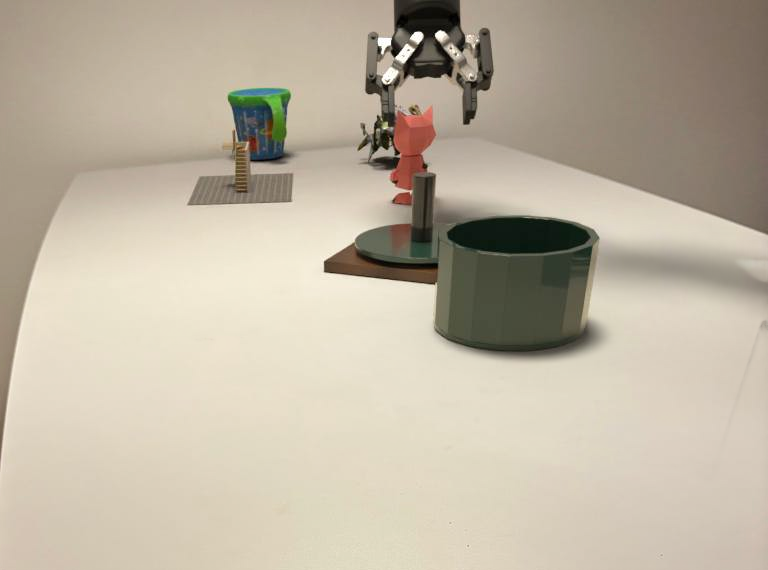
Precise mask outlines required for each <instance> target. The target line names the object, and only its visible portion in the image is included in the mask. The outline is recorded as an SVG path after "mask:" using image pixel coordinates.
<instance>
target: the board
mask: <svg viewBox="0 0 768 570" xmlns="http://www.w3.org/2000/svg"><path fill="white" fill-rule="evenodd" d="M436 266H437V263H436V264H405V263H396V262H389V261H383V260H379V259H374V258H371V257H368V256H365V255H363V254H361V253H359V252H358V251H357V250H356V248H355V241H354V242H353V243H350V244H349V245H347V246H346V247H344V248H343V249H341V250H339V251H337V252H336V253H335V254H333V255H331V256H330V257H328V258H326V259H325V260H324V261H323V272H326V273H335V274H343V275H353V276H360V277H361V276H362V277H371V278H378V279H388V280H398V281H406V282H416V283H425V284H432V285H435V283H436Z"/></svg>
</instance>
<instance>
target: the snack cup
mask: <svg viewBox="0 0 768 570" xmlns="http://www.w3.org/2000/svg"><path fill="white" fill-rule="evenodd" d="M291 98H292V93H291V91H290V89H288V88H283V87H253V88H252V87H251V88H244V89H237V90H233V91H229V93H228V94H227V101H228V103H229V106H230V107H231V110H232V115H233V122H234V128H235V133H236V138H237V142H249V151H250V161H252V160H253V161H258V160H259V161H263V160H273V159H277V158H279V157H281V156H283V155H284V151H285V140H286V138H287V133H288V131H287V119H288V106H289V102H290V100H291Z"/></svg>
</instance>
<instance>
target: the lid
mask: <svg viewBox="0 0 768 570" xmlns="http://www.w3.org/2000/svg"><path fill="white" fill-rule="evenodd" d="M436 185H437V173H434V172H431V171H430V172H429V171H427V172H419V173H415V174H413V188H412V190H411V191H412V192H411V194H412V204H411V214H410V215H411V216H410V222H407V223H395V224H387V225H381V226H379V227H374V228H371V229H368V230H365V231H362V232H361V233H359V234H358V235H357V236H356V237H355V238H354V242H355V248H356V250H357V251H358V252H359V253H361V254H363V255H365V256H368V257H371V258H374V259H379V260H383V261H389V262H396V263H405V264H436V263H437V249H438V233H439V231H440V230H442V229H443V228H444V227H446V226H447V225H449V224H450V223H440V222H439V223H438V222H434V221H435V219H434V218H435V202H436Z"/></svg>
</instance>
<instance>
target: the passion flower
mask: <svg viewBox="0 0 768 570" xmlns="http://www.w3.org/2000/svg"><path fill="white" fill-rule="evenodd" d="M379 101H380V102H381V97H380V98H379ZM398 110H399V111H400V112H401V114H402V115H403V116H404V117H405V116H408V115H418V116H422V115H423V114H422V111H421V110H420V107H419V105H418V104H414V103H411V104H409V107H408V112H409V113H410V114H408V112H407V111H406V110H405V109H404V107H402V105H399V106H398V105H397V104H395V119H394V127H388V122H383V120H382V118H381V114H380V115H379V114H376V120H375V121H374V123H373V133H370V134H369V132H367V131H366V123H365V122H360V123H359V128H360V129H361V130H362V135H363V136H365V137H364V139H363V140H362V141H361V143H359V145H358V147H357V152H359V151H361V150H362V149H363V148H364V147H366V146H368V144H370V149H369V152H368V159H367V165H369V163H370V162H371V159H372V157H373V155H375V153H376V152H378V151H379V149H381V148H383V149H384V151H389V149H390V147H389V148H387V147H388V146H390V145H392V144H394V141H386V140H393V139H394V130H395V126H396V119H397V112H398ZM390 142H391V144H390ZM391 147H392V148H393V151H394V157H395V156H396V157H398V156H401V153H400V152H399V151H398V150H397V149H396V148H395V144H394V145H392V146H391ZM386 148H387V149H386Z"/></svg>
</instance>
